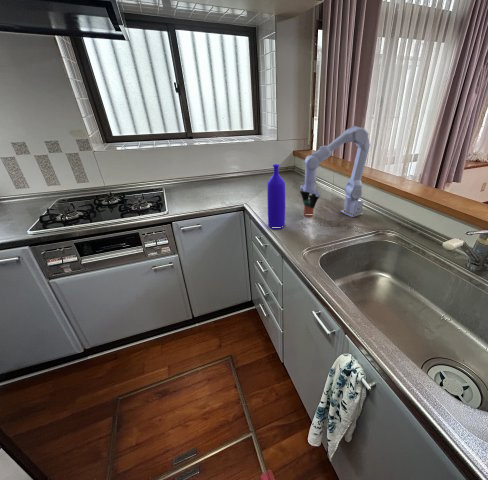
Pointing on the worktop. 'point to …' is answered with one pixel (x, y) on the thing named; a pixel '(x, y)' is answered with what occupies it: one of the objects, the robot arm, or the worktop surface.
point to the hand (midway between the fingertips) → (308, 205)
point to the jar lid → (307, 202)
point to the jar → (308, 211)
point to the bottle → (276, 200)
